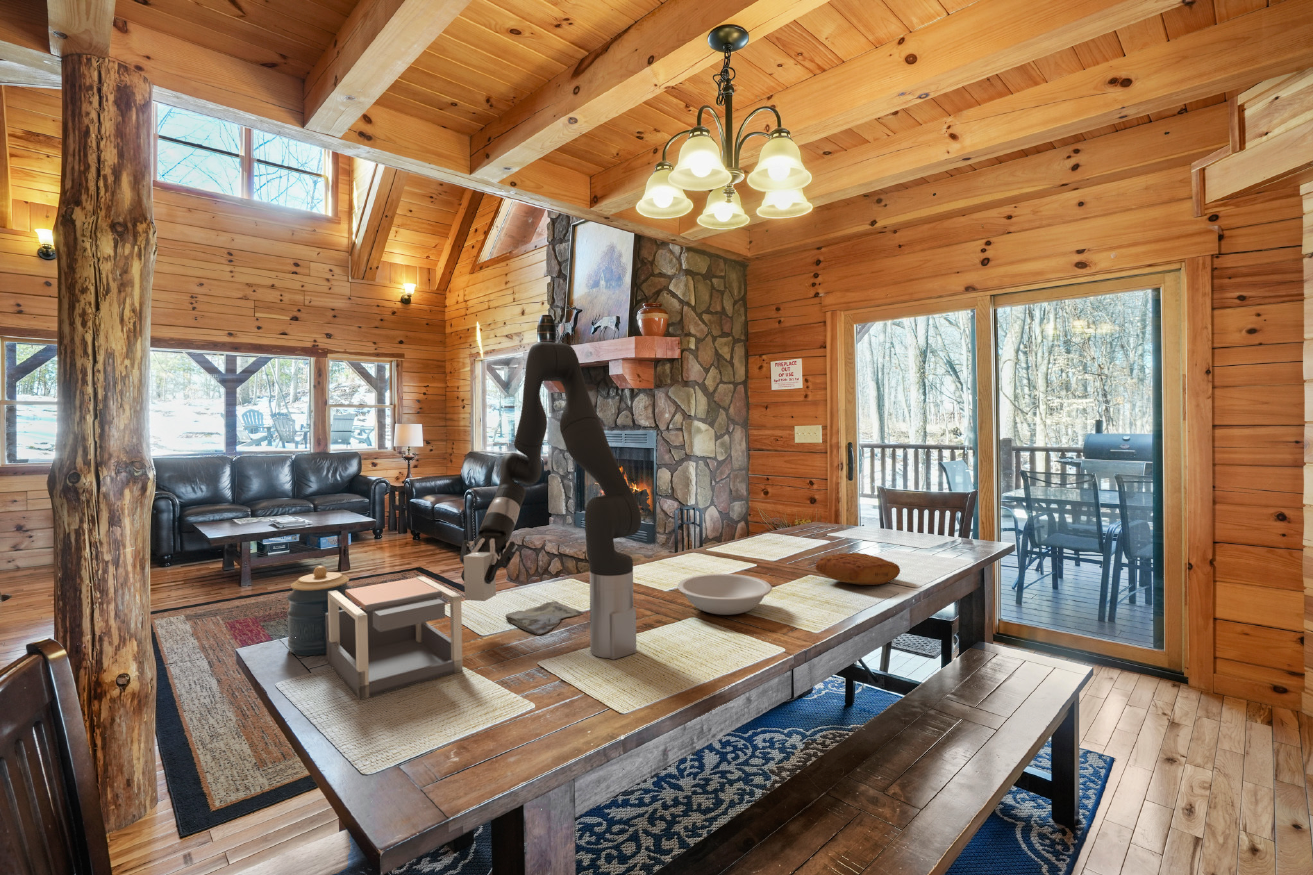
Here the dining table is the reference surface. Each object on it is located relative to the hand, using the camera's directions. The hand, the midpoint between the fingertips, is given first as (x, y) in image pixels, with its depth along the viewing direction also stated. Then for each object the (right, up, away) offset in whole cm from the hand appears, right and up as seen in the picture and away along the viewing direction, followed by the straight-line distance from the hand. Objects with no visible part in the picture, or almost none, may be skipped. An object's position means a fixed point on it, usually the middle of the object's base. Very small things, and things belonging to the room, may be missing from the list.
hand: (475, 581), depth 142 cm
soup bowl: (+58, -12, +19) cm, 63 cm away
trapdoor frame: (-12, -14, -16) cm, 24 cm away
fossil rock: (+13, -13, +13) cm, 23 cm away
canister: (-33, -13, -4) cm, 36 cm away
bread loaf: (+101, -11, +45) cm, 111 cm away
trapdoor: (-10, -2, -18) cm, 21 cm away
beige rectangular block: (+1, -4, +2) cm, 5 cm away
